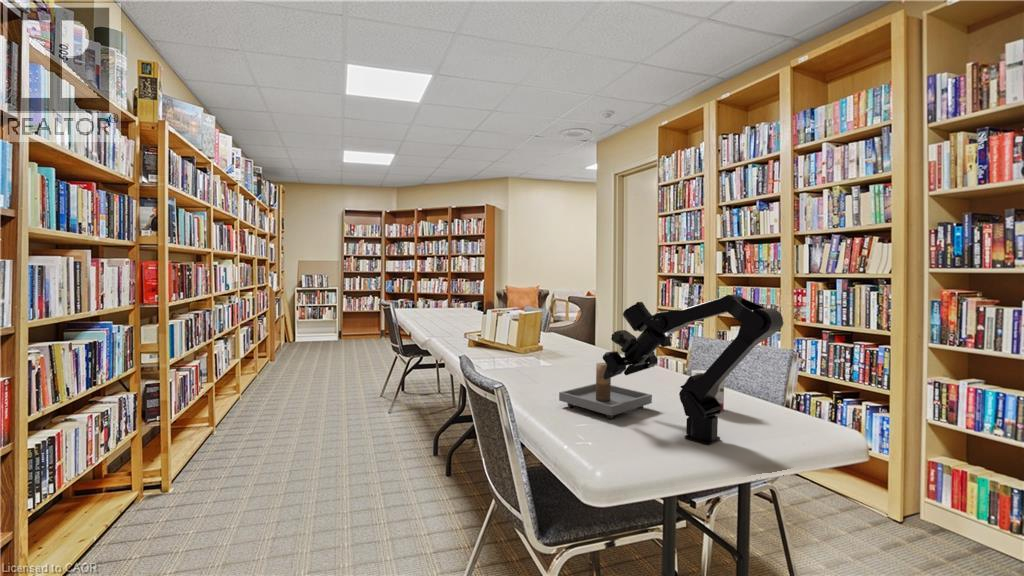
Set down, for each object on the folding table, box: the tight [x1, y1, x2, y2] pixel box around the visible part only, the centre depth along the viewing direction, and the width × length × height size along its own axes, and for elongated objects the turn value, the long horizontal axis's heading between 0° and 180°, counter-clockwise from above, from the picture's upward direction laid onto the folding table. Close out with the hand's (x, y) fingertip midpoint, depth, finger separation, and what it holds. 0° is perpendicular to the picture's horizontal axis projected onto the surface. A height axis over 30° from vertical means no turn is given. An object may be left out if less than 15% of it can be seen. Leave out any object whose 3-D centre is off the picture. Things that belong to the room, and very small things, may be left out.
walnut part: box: [595, 362, 612, 402], centre depth 148 cm, size 4×4×11 cm
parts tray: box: [558, 383, 653, 420], centre depth 149 cm, size 20×20×4 cm
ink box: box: [691, 369, 725, 413], centre depth 148 cm, size 9×5×12 cm, turn 84°
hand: (614, 376), depth 144 cm, fingers open, 9 cm apart
